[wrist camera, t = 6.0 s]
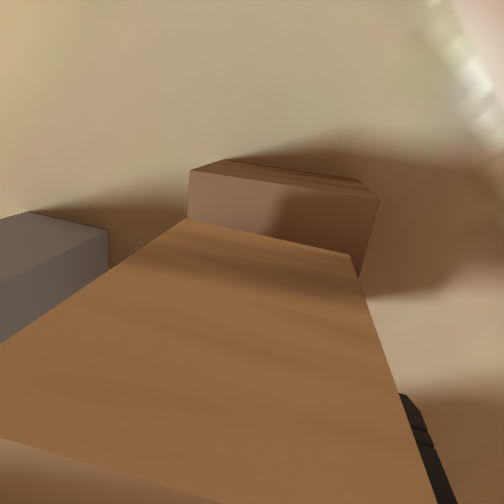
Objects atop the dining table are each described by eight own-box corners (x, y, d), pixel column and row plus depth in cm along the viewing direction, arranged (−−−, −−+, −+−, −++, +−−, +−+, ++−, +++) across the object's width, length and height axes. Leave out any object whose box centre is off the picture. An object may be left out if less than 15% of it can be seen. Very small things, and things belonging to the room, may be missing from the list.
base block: (222, 159, 20) (189, 170, 14) (358, 179, 19) (379, 199, 13) (212, 279, 23) (180, 327, 17) (328, 301, 22) (336, 358, 16)
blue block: (27, 211, 23) (-134, 256, 15) (108, 230, 22) (-10, 288, 14) (32, 287, 25) (-105, 364, 17) (106, 305, 25) (3, 394, 16)
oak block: (185, 218, 12) (-96, 409, 4) (349, 254, 12) (462, 574, 3) (170, 351, 14) (-29, 665, 6) (308, 387, 14) (309, 788, 5)
